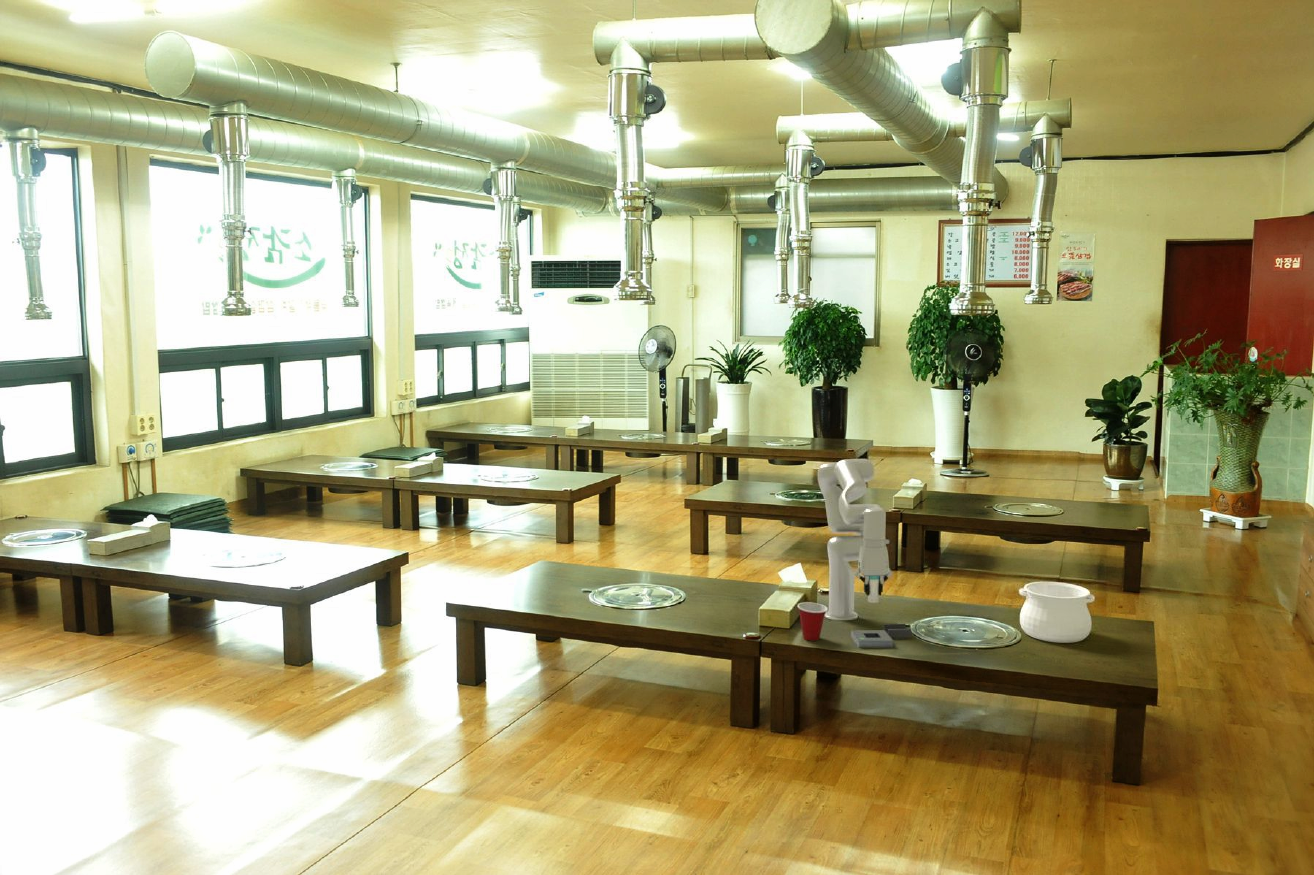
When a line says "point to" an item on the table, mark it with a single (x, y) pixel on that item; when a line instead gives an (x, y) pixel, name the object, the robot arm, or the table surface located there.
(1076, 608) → the pot
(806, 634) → the plastic cup
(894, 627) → the holster
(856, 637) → the port
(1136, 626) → the table surface
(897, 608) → the table surface
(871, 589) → the white cylinder
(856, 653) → the table surface
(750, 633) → the table surface
